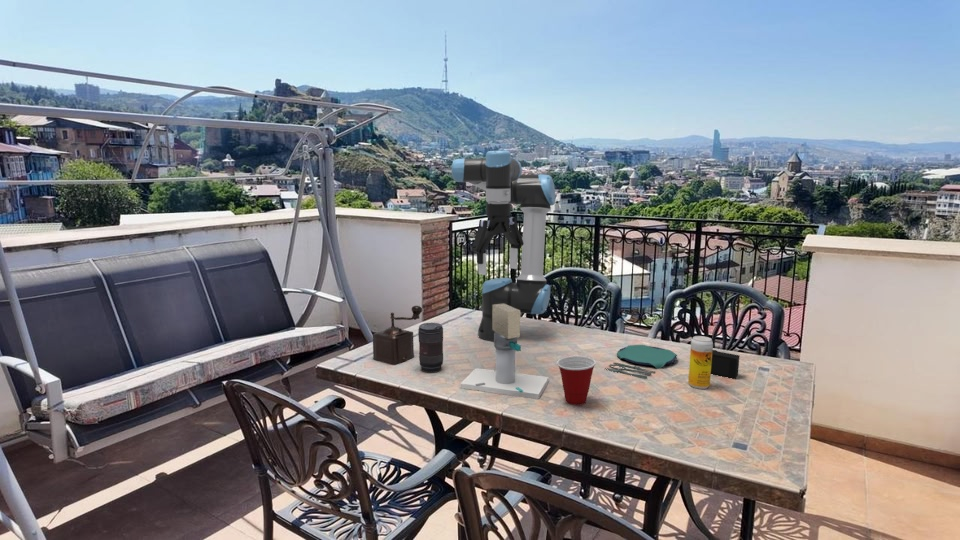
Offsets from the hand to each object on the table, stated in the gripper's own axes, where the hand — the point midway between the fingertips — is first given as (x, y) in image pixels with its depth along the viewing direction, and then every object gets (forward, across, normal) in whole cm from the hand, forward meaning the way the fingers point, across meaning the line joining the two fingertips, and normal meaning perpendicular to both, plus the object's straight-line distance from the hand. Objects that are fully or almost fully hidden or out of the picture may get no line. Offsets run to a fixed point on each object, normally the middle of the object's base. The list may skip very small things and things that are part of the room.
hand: (498, 271), depth 163 cm
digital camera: (+35, +54, -48) cm, 80 cm away
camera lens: (+34, -14, +18) cm, 41 cm away
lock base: (+34, -5, -8) cm, 35 cm away
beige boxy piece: (+21, -5, -9) cm, 24 cm away
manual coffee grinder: (+34, -14, +36) cm, 52 cm away
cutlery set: (+35, +44, -25) cm, 62 cm away
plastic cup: (+34, +1, -30) cm, 45 cm away
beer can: (+34, +38, -48) cm, 71 cm away
